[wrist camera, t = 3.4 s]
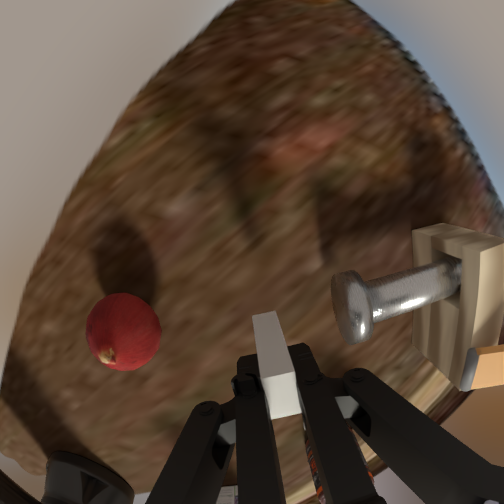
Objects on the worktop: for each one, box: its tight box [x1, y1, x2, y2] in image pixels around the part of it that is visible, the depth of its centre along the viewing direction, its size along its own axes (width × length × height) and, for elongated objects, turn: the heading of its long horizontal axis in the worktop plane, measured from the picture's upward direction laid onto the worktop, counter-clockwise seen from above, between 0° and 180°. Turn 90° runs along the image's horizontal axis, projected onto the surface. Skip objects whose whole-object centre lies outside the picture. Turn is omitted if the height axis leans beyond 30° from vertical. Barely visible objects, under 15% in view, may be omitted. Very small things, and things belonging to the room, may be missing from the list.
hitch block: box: [412, 223, 504, 391], centre depth 20 cm, size 4×12×9 cm, turn 12°
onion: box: [86, 292, 162, 371], centre depth 19 cm, size 6×6×8 cm
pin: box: [331, 256, 462, 345], centre depth 19 cm, size 13×5×5 cm, turn 101°
